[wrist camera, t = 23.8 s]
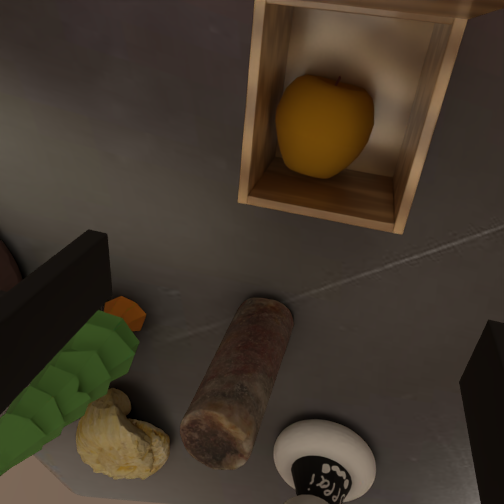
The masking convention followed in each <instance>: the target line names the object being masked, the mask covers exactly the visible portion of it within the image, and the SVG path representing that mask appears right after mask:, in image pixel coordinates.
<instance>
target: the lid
mask: <svg viewBox="0 0 504 504" xmlns="http://www.w3.org/2000/svg"><path fill="white" fill-rule="evenodd" d="M301 1H310V2H319V3H327V4H336V5H345V6H354V7H363V8H372V9H381V10H390V11H398V12H407V13H416V14H425V15H434V16H443V17H452V18H460V19H471V18H474V17H477V16H480V15H483V14H487V13H490V12H493V11H496V10H499V9H502V8H504V0H301Z"/></svg>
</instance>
